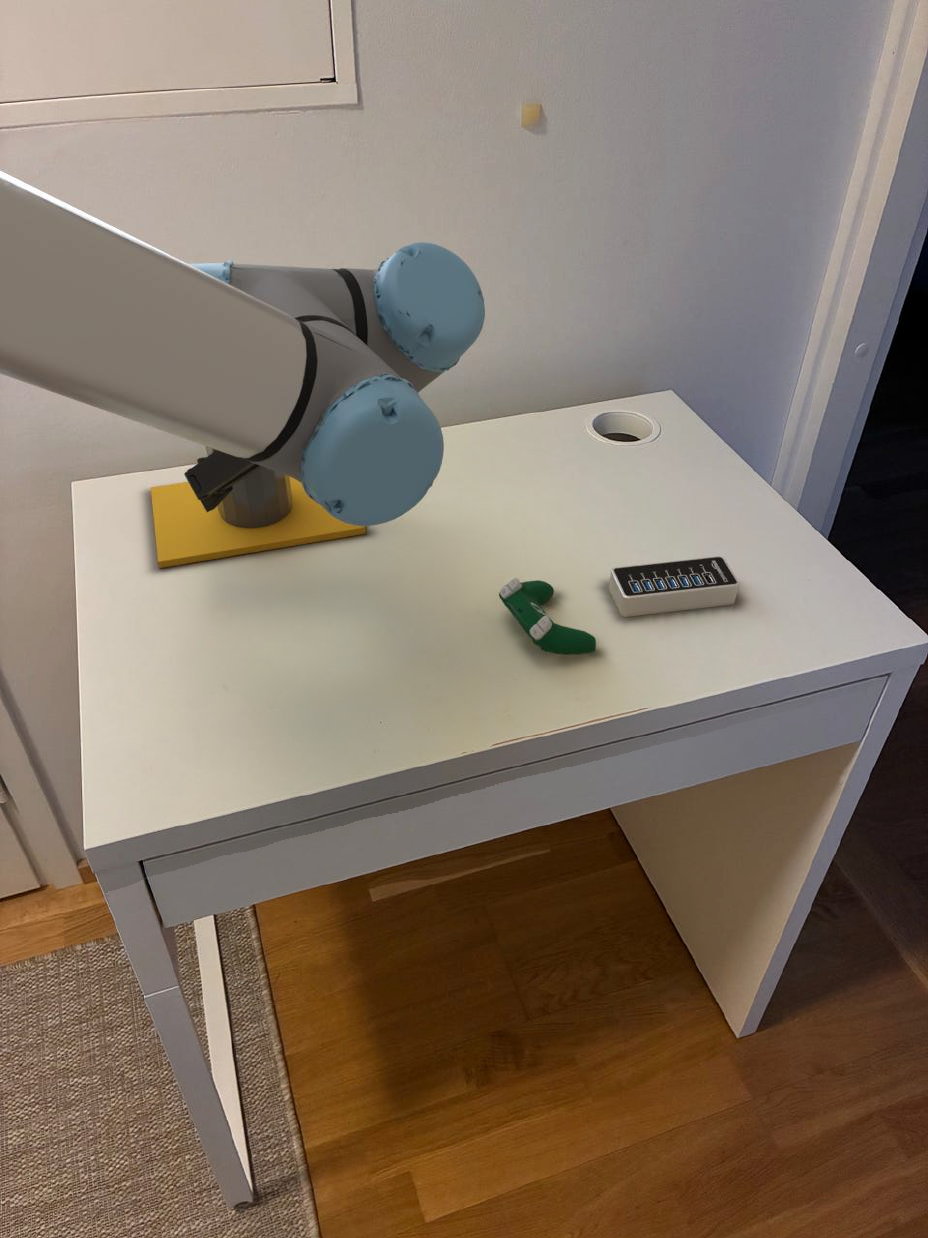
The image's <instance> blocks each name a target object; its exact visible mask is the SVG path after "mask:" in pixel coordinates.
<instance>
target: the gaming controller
mask: <svg viewBox="0 0 928 1238" xmlns="http://www.w3.org/2000/svg"><path fill="white" fill-rule="evenodd" d="M554 593H555V589H554V587H553V586H552V585H551V584H550V583H548V582H547V581H544V580H537V579H536V580H529V581H523V582H521V581H520V579H518V577H514V578H512V579H511V580H509V581H507V583H506V584H504V585H503V586H502V587H501V588H500V591H499V592H498V597H499V599H500V600H501V602H502V603H503V605H504V606H505V607H506V608H507V610H508V611H509V612H510V614H511V615H512V616H513V618H514V619H515V621H517V623H518V625H519V626H520V627H521V628H522V629H523V631H524V632H525V634H526V635H527V637H528V638H529V639H530V640H531V641H532V643H533V644H534V645H535V646H537V647H539V648H540V650H541V651H543V652H545V653H551V654H556V655H564V656H570V655H571V656H573V655H583V654H590V653H593V652H596V650H597V639H596V637H595V636H594V635H592V634H591V633H589V632H587V631H585V630H581V629H577V628H573V627H570V626H569V627H568V626H564V625H562V624H561V625H560V624H559V623H556V622H554V621H553V619H551V618H550V616H549V615H548V614H547V613H546V611H545V609H544V608H542V606H543V605H545V604H547V603H548V602H549V601H550V600H551V599H552V598H553V596H554Z"/></svg>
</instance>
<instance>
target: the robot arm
mask: <svg viewBox="0 0 928 1238" xmlns="http://www.w3.org/2000/svg"><path fill="white" fill-rule="evenodd" d="M485 318H486V308H485V298H484V295H483V292H482V287H481V285H480V283H479V281H478V279H477V277H476V275H475V274H474V273H473V270H472V268H470V267H469V265H468V264H467V263H466V262H465V261H464V260H463V259H462V258H461V257H460V256H458V254H456V253H455V252H453V251H451V250H449V249H447V248H445V247H444V246H441V245H438V244H436V243H432V242H423V241H422V242H414V243H411V244H407V245H405V246H402V247H401V248H400V249H398V250H396V251H395V252H394V253H392V254H391V255H389V256H388V257H387V258H386V259H385V260H383V261H381V262H380V264H379V266H378V268H376V269H375V268H374V269H366V268H348V267H347V268H346V267H341V268H322V267H321V268H320V267H303V266H302V267H300V266H285V265H284V266H283V265H270V264H269V265H268V264H249V263H247V264H246V263H234V262H233V260H226V261H224V262H207V263H206V262H204V263H201V262H199V263H187V262H185V261H182V260H181V259H178V258H176V257H175V256H172V254H169V253H167V252H165V251H162V250H160V249H158V248H156V247H154V246H153V245H150V244H149V243H146V242H144V241H142V240H141V239H138V238H136V237H134V236H132V235H130V234H128V233H126V232H125V231H123V230H120V229H118V228H117V227H114V226H112V225H110V224H108V223H106V222H104V221H103V220H100V219H98V218H96V217H94V216H92V215H90V214H88V213H86V212H84V211H82V210H80V209H78V208H76V207H74V206H72V205H70V204H68V203H66V202H64V201H62V200H59V199H58V198H56V197H54V196H52V195H49V194H48V193H46V192H44V191H41V190H40V189H38V188H36V187H34V186H32V185H30V184H27V183H25V182H23V181H22V180H20V179H18V178H15V177H13V176H11V175H10V174H7V173H6V172H3V171H2V170H0V375H3V376H6V377H9V378H12V379H15V380H17V381H19V382H23V383H26V384H29V385H31V386H34V387H37V388H40V389H42V390H46V391H48V392H51V393H54V394H57V395H60V396H63V397H66V398H69V399H71V400H74V401H77V402H80V403H82V404H85V405H89V406H90V407H94V408H97V409H100V410H102V411H105V412H108V413H110V414H113V415H117V416H120V417H123V418H125V419H128V420H130V421H133V422H136V423H139V424H142V425H144V426H148V427H151V428H154V429H157V430H159V431H162V432H164V433H168V434H171V435H174V436H175V437H176V436H177V437H179V438H181V439H184V440H188V441H191V442H193V443H196V444H199V445H201V446H205V447H206V446H207V447H210V448H213V449H216V451H214V452H213V453H212V454H210V455H209V456H208V455H207V456H204V457H198V458H197V459H196V462H197V463H196V464H195V465H194V466H192V467H190V468H188V469H186V471H185V472H184V473H183V475H184V477H185V479H186V481H187V482H189V484H190V486H191V488H192V489H193V491H194V493H195V495H196V497H197V499H198V500H200V501H201V503H202V504H203V506H204V508H205V510H206V512H209V511H211V510H214V509H215V508H216V507H217V506H218V505H219V504H220V502H221V501H222V500H223V499H224V498H225V497H226V496H227V495H228V494H229V493H230V492H231V491H232V490H233V487H232V485H234V484H236V483H237V482H239V481H241V480H242V479H244V478H246V477H247V476H249V475H251V474H252V473H254V472H256V471H257V470H259V469H261V468H262V467H265V468H268V469H270V470H273V471H276V472H279V473H282V474H284V475H287V476H290V477H292V478H294V479H296V480H298V481H299V482H301V483H302V486H303V488H304V490H305V492H306V494H307V495H308V496H309V497H310V498H311V499H313V500H314V501H315V502H316V503H318V504H320V505H321V506H322V507H323V508H324V509H325V510H326V511H327V512H328V513H329V514H330V515H331V516H333V517H334V518H336V519H338V520H340V521H342V522H344V523H347V524H351V525H357V526H365V527H371V526H379V525H382V524H386V523H389V522H392V521H393V520H396V519H398V518H400V517H402V516H403V515H405V514H407V513H408V512H409V511H411V510H412V509H413V508H415V507H416V506H417V505H418V504H419V503H420V502H421V501H422V499H423V498H425V496H426V495H427V493H428V491H429V489H430V488H431V487H432V486H433V485H434V481H435V480H436V478H437V477H438V475H439V473H440V470H441V467H442V465H443V459H444V450H445V442H444V441H445V440H444V435H443V431H442V427H441V425H440V422H439V421H438V418H437V417H436V415H435V413H434V412H433V411H432V410H431V408H430V407H429V406H428V404H427V403H426V402H425V400H423V398H422V397H421V396H420V395H419V393H420V392H421V391H422V390H423V389H425V388H426V387H428V385H430V384H431V383H432V382H434V381H435V380H436V379H437V378H439V377H440V376H441V375H442V374H444V373H445V372H446V371H447V372H448V371H450V369H452V368H453V367H455V366H456V365H457V364H458V363H459V361H460V359H461V357H462V356H463V355H464V354H466V352H467V351H468V350H469V349H470V348H471V346H473V344H474V343H476V341H477V339H478V338H479V336H480V334H481V332H482V330H483V327H484V323H485Z"/></svg>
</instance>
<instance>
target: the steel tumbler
mask: <svg viewBox="0 0 928 1238" xmlns="http://www.w3.org/2000/svg"><path fill="white" fill-rule="evenodd" d="M205 450H206V454H207V457H208V456H209V455H210V454H212V453H213V452H214V451H216V449H213V448H210V447H207V446H205ZM232 487H233V490H232V491H231V492H230V493H229V494H228V495H227V496H226V497H225V498H224V499H223V500H222V501H221V502H220V504H219V505H218V511H219V514H220V516H221V518H222V519H223V520H224V521H225V522H227V523H229V524H231V525H233V526H236V527H241V528H260V527H265V526H269V525H272V524H274V523H277V522H279V521H280V520H282V519H283V518H285V517H286V516H287V515H288V514H289V512H290V511H291V509H292V492H291V485H290V477H289V476H287V475H284V474H282V473H279V472H276V471H273V470H270V469H268V468H265V467H262V468H261V469H259V470H257V471H256V472H254V473H252V474H251V475H249V476H247V477H246V478H244V479H242V480H241V481H239V482H237V483H236V484H234V485H232Z"/></svg>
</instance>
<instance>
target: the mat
mask: <svg viewBox="0 0 928 1238" xmlns="http://www.w3.org/2000/svg"><path fill="white" fill-rule="evenodd" d="M289 477H290V476H289ZM290 485H291V492H292V509H291V511H290V512H289V514H288V515H287V516H286V517H285V518H283V519H282V520H280V521H279V522H277V523H274V524H272V525H269V526H265V527H260V528H241V527H236V526H233V525H231V524H229V523H227V522H225V521H224V520H223V519H222V518H221V516H220V514H219V511H218V506H217V507H216V508H215V509H214V510H211V511H209V512H206V510H205V508H204V506H203V504H202V503H201V501H200V500H198V499H197V497H196V495H195V493H194V491H193V489H192V488H191V486H190V484H189V482H188V481H184V482H178V483H170V484H164V485H158V486H151V487H150V497H151V506H152V517H153V526H154V535H155V536H154V537H155V546H156V547H155V548H156V556H157V564H158V567H159V569H164V568H169V567H175V566H180V565H186V564H193V563H198V562H204V561H205V562H206V561H211V560H217V559H222V558H228V557H235V556H240V555H246V554H251V553H259V552H264V551H265V552H266V551H271V550H277V549H282V548H289V547H294V546H300V545H306V544H312V543H318V542H323V541H329V540H336V539H342V538H347V537H353V536H360V535H365V534H366V533H367V532H366V526H357V525H351V524H347V523H344V522H342V521H340V520H338V519H336V518H334V517H333V516H331V515H330V514H329V513H328V512H327V511H326V510H325V509H324V508H323V507H322V506H321V505H320V504H318V503H316V502H315V501H314V500H313V499H311V498H310V497H309V496H308V495H307V494H306V492H305V490H304V488H303V486H302V483H301V482H299V481H298V480H296V479H294V478H292V477H290Z"/></svg>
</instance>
